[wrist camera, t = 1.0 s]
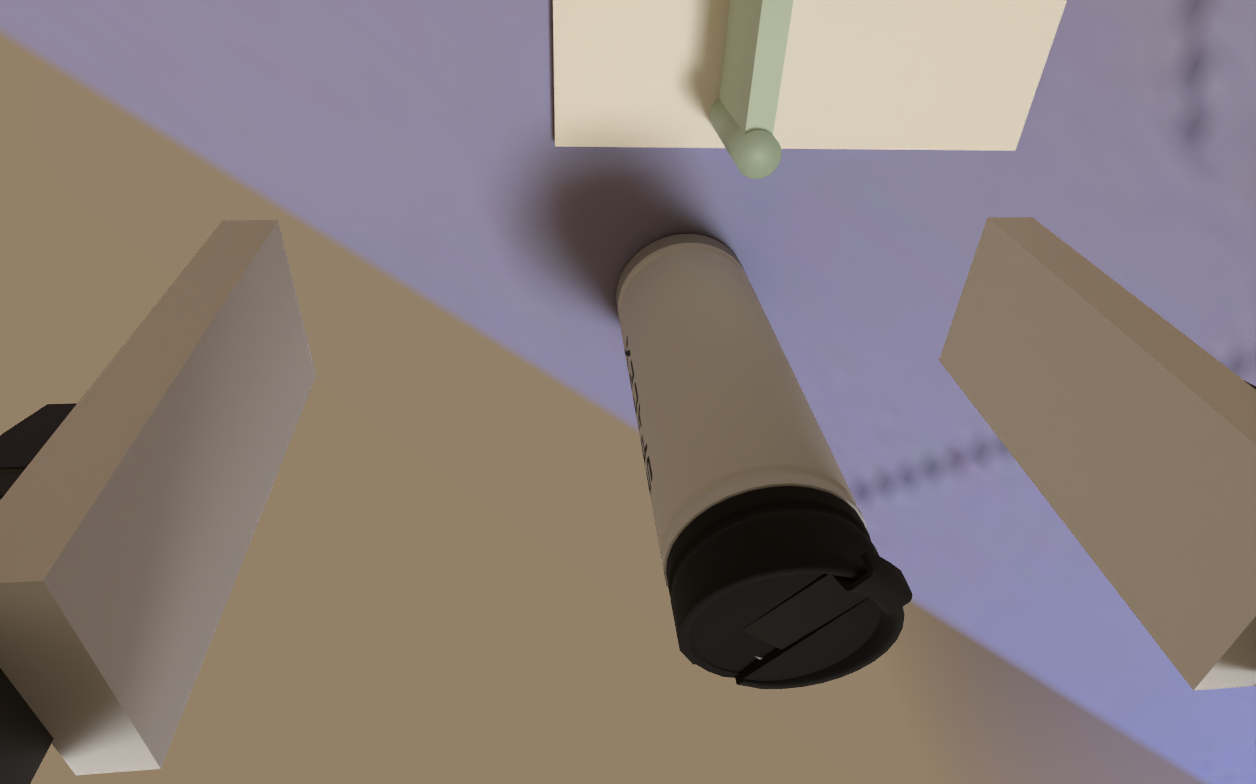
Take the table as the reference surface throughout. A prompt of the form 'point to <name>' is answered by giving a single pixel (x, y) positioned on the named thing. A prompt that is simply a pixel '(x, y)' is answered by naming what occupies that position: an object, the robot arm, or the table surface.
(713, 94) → the card
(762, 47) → the hinged rail
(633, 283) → the travel mug
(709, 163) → the table surface
